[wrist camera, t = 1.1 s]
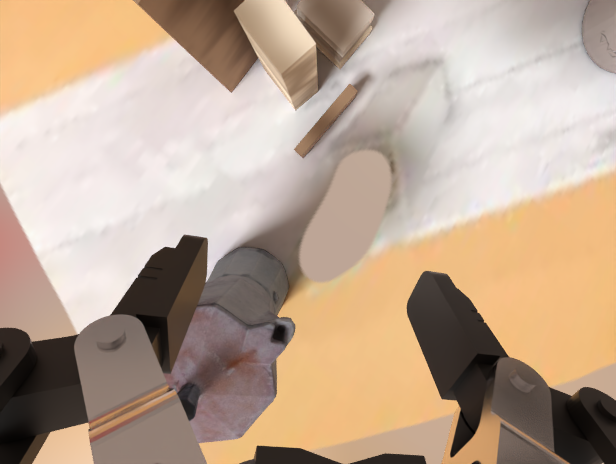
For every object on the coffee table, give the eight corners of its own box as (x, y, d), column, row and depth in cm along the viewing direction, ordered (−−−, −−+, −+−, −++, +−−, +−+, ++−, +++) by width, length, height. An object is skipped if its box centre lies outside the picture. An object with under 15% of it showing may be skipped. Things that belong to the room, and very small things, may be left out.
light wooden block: (287, 50, 30) (268, -23, 19) (318, 91, 31) (315, 43, 20) (265, 70, 31) (233, 10, 20) (295, 110, 31) (281, 74, 20)
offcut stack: (325, -12, 29) (325, -38, 25) (370, 33, 29) (376, 13, 26) (295, 26, 30) (291, 6, 26) (339, 69, 30) (342, 54, 27)
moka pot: (327, 285, 34) (334, 428, 15) (221, 350, 36) (103, 552, 17) (280, 216, 33) (219, 270, 13) (173, 288, 35) (-14, 425, 16)
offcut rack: (269, 17, 30) (210, -166, 14) (354, 98, 31) (388, 12, 15) (220, 82, 31) (114, -18, 15) (303, 158, 32) (284, 138, 16)
